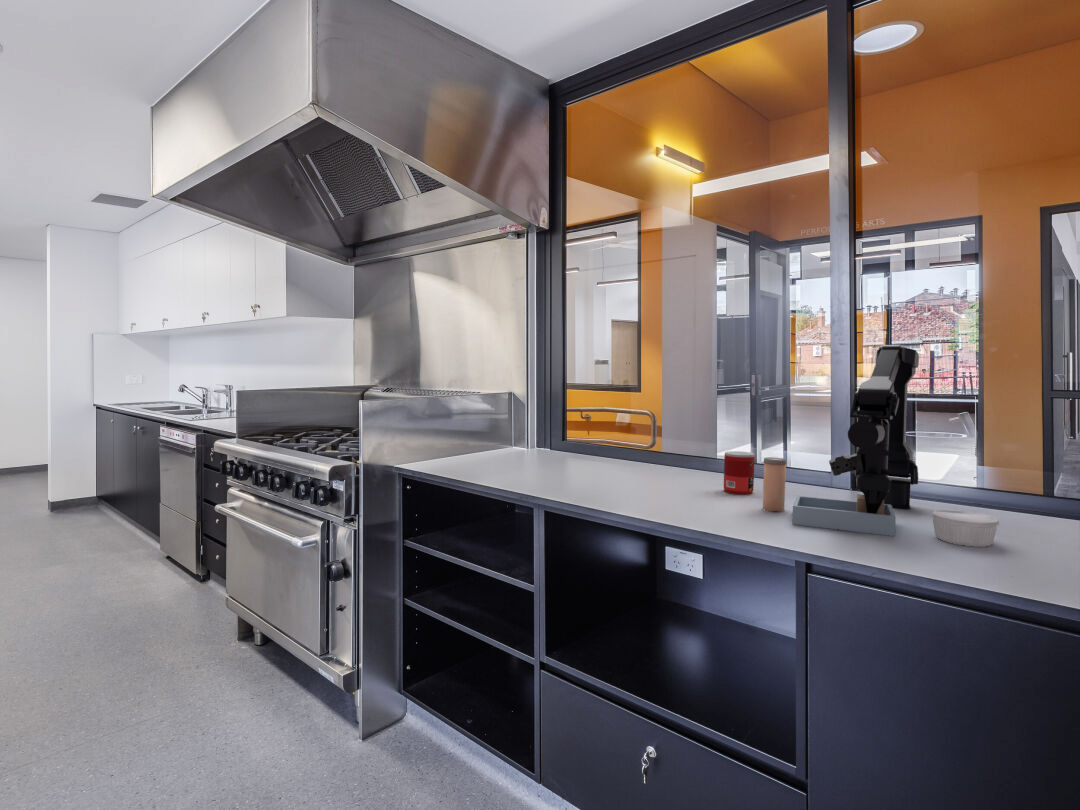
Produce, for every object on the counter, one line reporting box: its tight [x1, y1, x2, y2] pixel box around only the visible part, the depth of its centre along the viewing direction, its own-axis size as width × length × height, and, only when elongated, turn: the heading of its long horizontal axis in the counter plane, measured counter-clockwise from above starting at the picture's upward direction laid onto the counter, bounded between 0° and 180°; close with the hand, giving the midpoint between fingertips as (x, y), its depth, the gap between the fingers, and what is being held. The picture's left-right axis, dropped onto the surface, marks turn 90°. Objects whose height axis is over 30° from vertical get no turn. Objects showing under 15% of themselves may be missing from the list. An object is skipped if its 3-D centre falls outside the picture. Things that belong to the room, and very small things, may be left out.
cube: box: [856, 493, 884, 515], centre depth 130 cm, size 5×5×5 cm
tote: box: [791, 495, 897, 537], centre depth 133 cm, size 20×13×4 cm, turn 63°
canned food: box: [723, 450, 755, 495], centre depth 167 cm, size 8×8×11 cm
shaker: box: [762, 456, 788, 513], centre depth 146 cm, size 5×5×12 cm
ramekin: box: [931, 509, 1000, 548], centre depth 120 cm, size 11×11×5 cm
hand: (870, 514), depth 130 cm, fingers open, 5 cm apart
